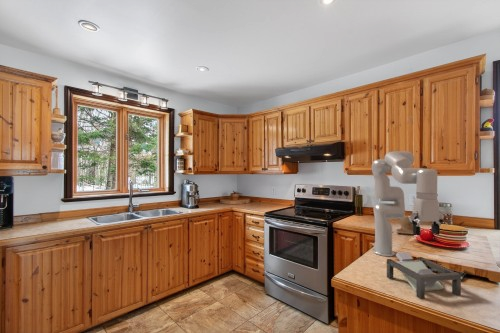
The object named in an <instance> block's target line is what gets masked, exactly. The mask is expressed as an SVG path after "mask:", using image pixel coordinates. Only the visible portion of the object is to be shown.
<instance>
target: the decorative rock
mask: <svg viewBox="0 0 500 333" xmlns="http://www.w3.org/2000/svg"><path fill="white" fill-rule="evenodd" d="M429 269H430V270H431V271H432V272H434V273H435V272H436V274H441V273H442V272H440V271H438V270H436V269H433V268H431V267H429ZM456 273H459V274H461V280H463V279H464V278H465V276H466V275H467V273H466V272H465V273H461V272H456Z"/></svg>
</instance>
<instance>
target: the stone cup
mask: <svg viewBox="0 0 500 333" xmlns="http://www.w3.org/2000/svg"><path fill="white" fill-rule="evenodd" d="M408 216H409V215H405V216H404V217H403V218H402V219H399V222H400V228H396V234H399V233H401V234H402V235H414V234H413V225H412V223H411V222H410V220H409V218H408Z"/></svg>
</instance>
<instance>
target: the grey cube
mask: <svg viewBox="0 0 500 333" xmlns="http://www.w3.org/2000/svg"><path fill="white" fill-rule="evenodd" d="M418 274H420V275H427V274H435V272H434V271H431V270H430V268H428V269H420V270H419V272H418ZM435 283H436V281H431V282H425V286H433V285H434V284H435Z"/></svg>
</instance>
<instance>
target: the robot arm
mask: <svg viewBox="0 0 500 333" xmlns="http://www.w3.org/2000/svg"><path fill="white" fill-rule="evenodd" d="M414 162H415V156H414V154H413V153H412V152H411V151H408V150H402V151H401V150H395V151H389V152H387V153H386V154H385V155H384V158H380V159H374V160H373V162H372V163H371V173H372V176H373V179H374V191H375V192H374V194H375V195H374V196H375V198H376V200H377V201H379V202H380V203H376V204H375V205H373V215H374V242H372V244H371V245H372V246H373V247H374V248H372V250H371V251H372V252H373V253H374V254H376V255H378V256H383V257H394V256H396V253H395V251H394V250H393V225H392V223H391V222H390V219H392V220H396V219H397V220H400V219H402V218H403V217H404V216H406V206H405V193H404V191H403V189H402V187H400V186H391V183H390V182H391V181H390V178H389V176H388V175H387V173H388V174H389V173H391V176H392V178H394V180H395V181H397V182H398V183H400V184H405V185H408V184H412V185H413V184H414V185H415V184H416V189H415V190H416V194H415V196H416V198H415V199H414V200H413V205H412V214H410V215H407V216H408V218H409V220H410V222H411V223H412V225H413V234H412V235H416V236H421V226H420V225H421V224H422V223H432V224H431V233H433V234H435V235H440V226H441V225H442V222H443V221H444V218H445V215H444V214H442V213H440V205H439V200H438V196H439V194H438V170H436V169H434V168H429V169H428V168H422V167H420V168H418V167H415V168H413V167H412V165H413V163H414ZM381 202H385V203H381ZM387 202H393V203H387Z"/></svg>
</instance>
